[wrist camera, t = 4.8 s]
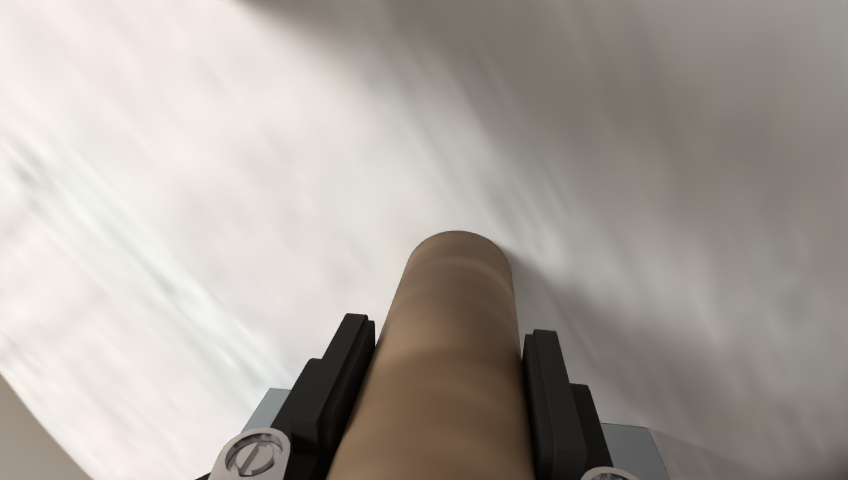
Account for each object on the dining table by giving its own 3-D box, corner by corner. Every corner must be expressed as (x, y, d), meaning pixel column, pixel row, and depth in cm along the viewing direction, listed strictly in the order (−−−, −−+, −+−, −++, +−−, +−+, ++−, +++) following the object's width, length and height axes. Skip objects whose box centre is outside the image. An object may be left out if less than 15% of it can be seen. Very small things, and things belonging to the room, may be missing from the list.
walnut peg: (517, 234, 16) (649, 967, 3) (506, 331, 18) (568, 1096, 5) (404, 227, 16) (115, 846, 4) (404, 322, 18) (198, 999, 5)
